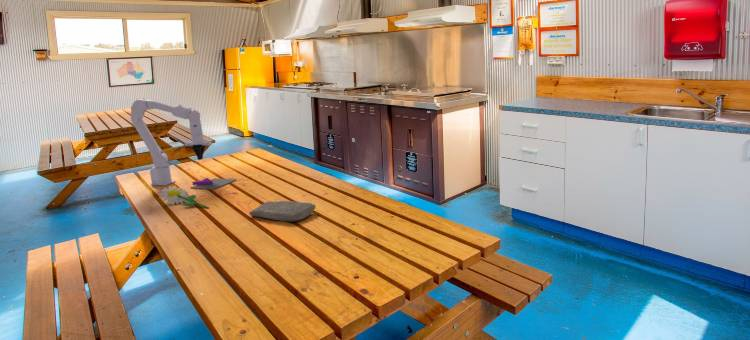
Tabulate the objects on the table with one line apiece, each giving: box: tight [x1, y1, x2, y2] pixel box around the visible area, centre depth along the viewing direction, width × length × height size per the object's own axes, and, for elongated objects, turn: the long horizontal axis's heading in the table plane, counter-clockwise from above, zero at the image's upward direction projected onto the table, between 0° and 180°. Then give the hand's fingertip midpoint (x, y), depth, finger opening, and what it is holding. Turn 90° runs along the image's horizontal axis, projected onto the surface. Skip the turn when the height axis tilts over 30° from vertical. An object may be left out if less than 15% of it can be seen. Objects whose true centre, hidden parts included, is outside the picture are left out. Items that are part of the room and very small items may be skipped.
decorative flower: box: [158, 185, 210, 209], centre depth 228 cm, size 13×5×30 cm
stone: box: [248, 200, 316, 223], centre depth 204 cm, size 26×4×15 cm
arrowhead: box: [192, 177, 213, 186], centre depth 262 cm, size 10×2×10 cm
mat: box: [190, 178, 238, 191], centre depth 260 cm, size 14×18×1 cm
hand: (200, 159), depth 271 cm, fingers closed
